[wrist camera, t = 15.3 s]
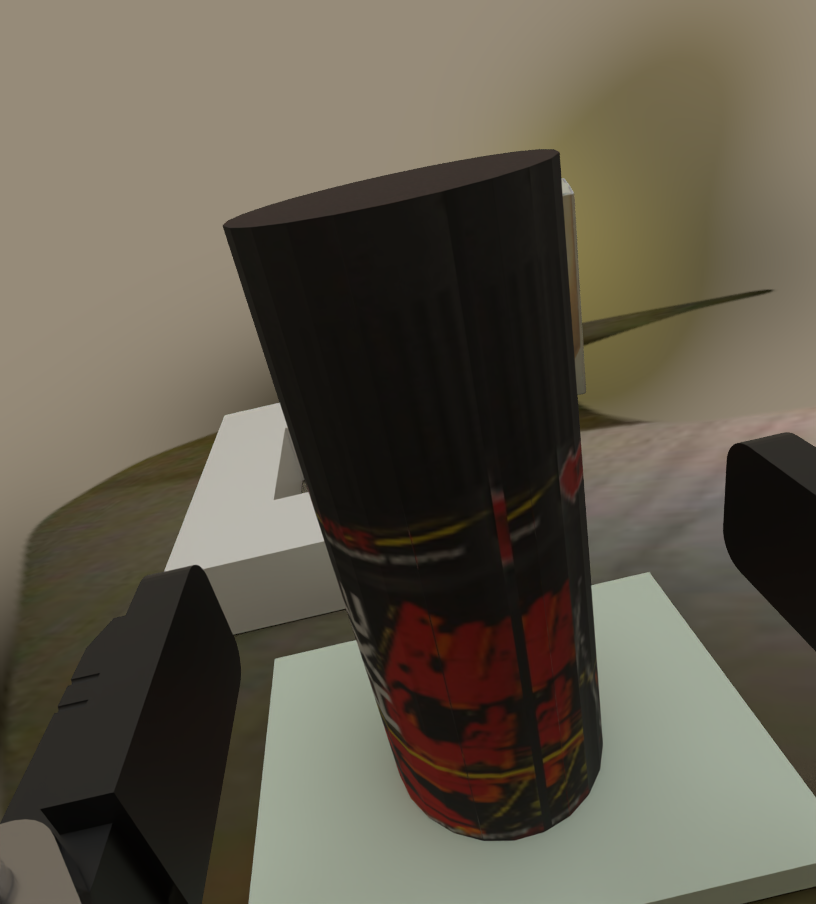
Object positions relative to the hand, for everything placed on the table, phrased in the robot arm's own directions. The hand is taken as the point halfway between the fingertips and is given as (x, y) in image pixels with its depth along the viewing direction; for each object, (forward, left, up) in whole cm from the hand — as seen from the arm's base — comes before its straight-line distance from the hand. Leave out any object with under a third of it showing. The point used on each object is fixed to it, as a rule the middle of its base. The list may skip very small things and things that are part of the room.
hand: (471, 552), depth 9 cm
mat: (0, -5, -11) cm, 12 cm away
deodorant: (0, -4, -10) cm, 11 cm away
